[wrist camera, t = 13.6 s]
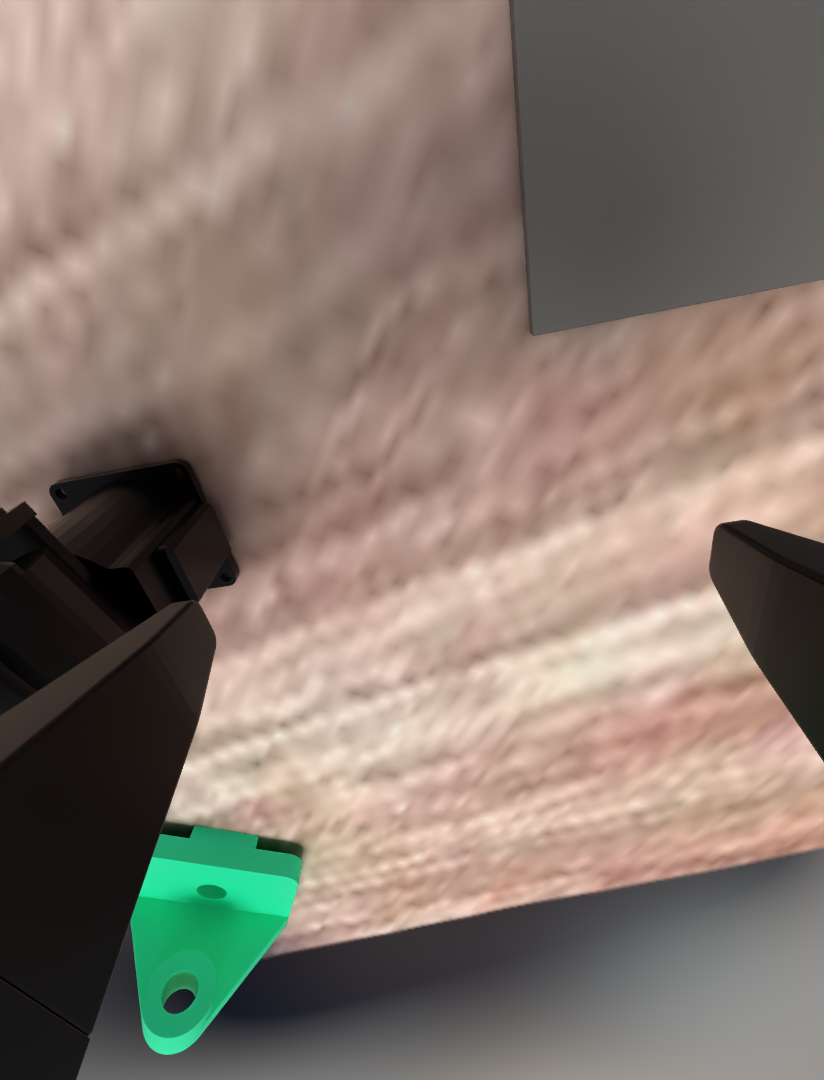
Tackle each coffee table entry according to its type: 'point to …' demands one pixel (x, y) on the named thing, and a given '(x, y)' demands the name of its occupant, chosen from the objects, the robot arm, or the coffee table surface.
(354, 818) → the coffee table surface
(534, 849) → the coffee table surface
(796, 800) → the coffee table surface
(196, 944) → the camera mount
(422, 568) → the coffee table surface
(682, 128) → the rubber mat
